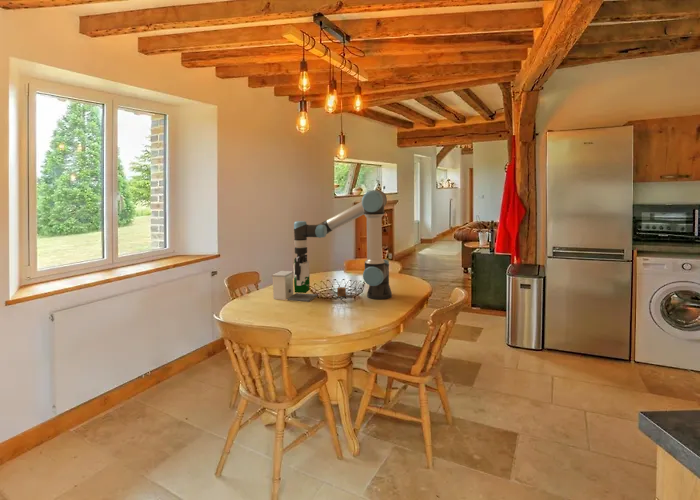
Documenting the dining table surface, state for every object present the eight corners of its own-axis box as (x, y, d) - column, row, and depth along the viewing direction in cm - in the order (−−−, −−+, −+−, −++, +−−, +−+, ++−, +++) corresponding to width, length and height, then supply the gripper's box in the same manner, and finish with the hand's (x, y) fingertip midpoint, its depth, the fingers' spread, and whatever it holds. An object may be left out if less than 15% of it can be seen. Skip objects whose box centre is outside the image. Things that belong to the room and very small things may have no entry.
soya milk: (297, 289, 273) (296, 257, 270) (311, 290, 271) (310, 258, 268) (292, 292, 264) (291, 260, 261) (307, 293, 262) (306, 260, 259)
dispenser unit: (294, 294, 276) (293, 271, 274) (286, 299, 264) (285, 275, 262) (281, 294, 279) (280, 270, 276) (272, 299, 267) (271, 274, 264)
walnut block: (345, 295, 274) (345, 287, 273) (345, 297, 269) (345, 289, 268) (337, 295, 274) (337, 287, 273) (337, 297, 269) (337, 289, 268)
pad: (317, 295, 273) (317, 294, 273) (309, 301, 259) (309, 300, 259) (296, 294, 277) (296, 293, 276) (287, 300, 263) (287, 298, 263)
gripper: (301, 244, 274) (302, 279, 278) (287, 249, 254) (289, 287, 257) (313, 244, 272) (313, 280, 276) (299, 249, 252) (301, 288, 255)
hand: (302, 283), depth 267 cm, fingers closed on soya milk, 9 cm apart
